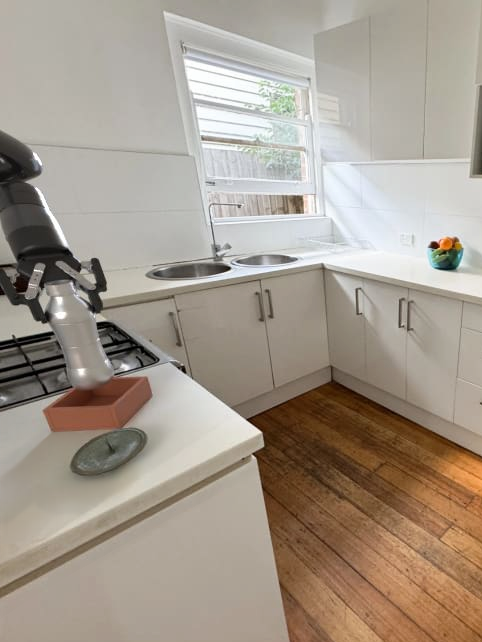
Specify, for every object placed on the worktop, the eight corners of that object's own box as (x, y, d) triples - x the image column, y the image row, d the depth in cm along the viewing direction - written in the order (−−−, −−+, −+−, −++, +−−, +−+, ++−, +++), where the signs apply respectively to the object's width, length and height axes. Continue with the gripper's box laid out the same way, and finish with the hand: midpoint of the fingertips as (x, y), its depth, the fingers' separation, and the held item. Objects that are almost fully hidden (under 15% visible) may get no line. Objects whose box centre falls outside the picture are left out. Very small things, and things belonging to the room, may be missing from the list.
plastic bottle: (71, 384, 72) (30, 281, 64) (115, 373, 76) (82, 275, 68) (74, 398, 68) (30, 290, 59) (120, 386, 72) (85, 283, 64)
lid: (163, 447, 68) (159, 420, 67) (123, 475, 58) (118, 444, 57) (102, 450, 67) (98, 423, 66) (51, 478, 57) (46, 447, 57)
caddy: (51, 431, 68) (42, 410, 67) (93, 397, 79) (86, 378, 77) (121, 428, 70) (113, 407, 68) (152, 395, 80) (147, 376, 79)
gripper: (-29, 226, 60) (9, 315, 57) (86, 220, 70) (122, 296, 67) (-17, 255, 65) (18, 337, 63) (88, 246, 75) (122, 317, 73)
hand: (72, 316), depth 65 cm, fingers closed on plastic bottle, 6 cm apart
